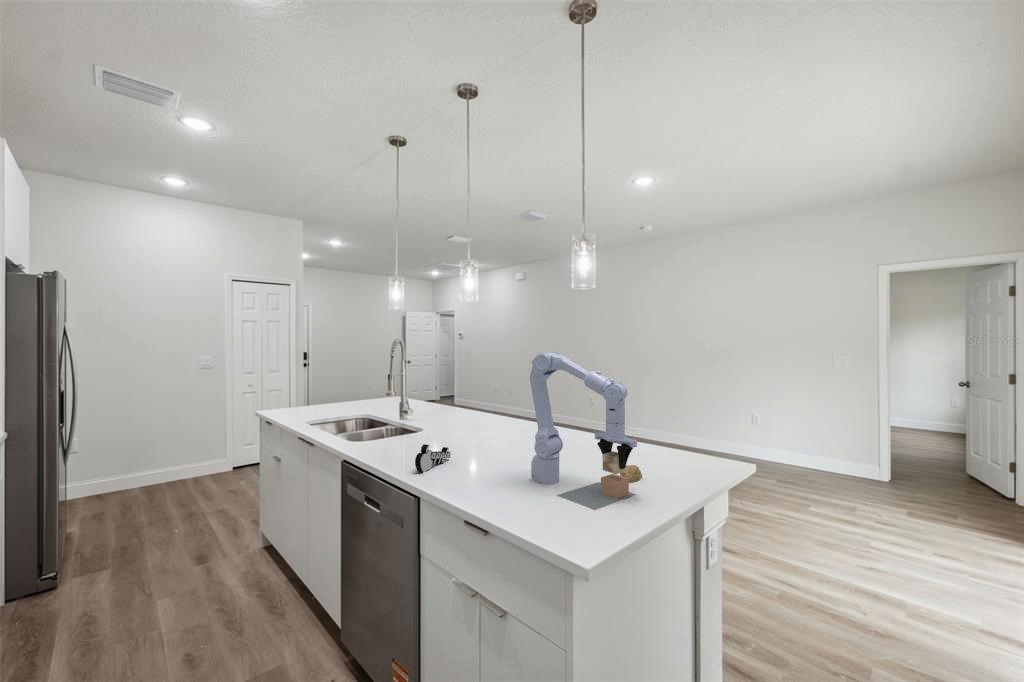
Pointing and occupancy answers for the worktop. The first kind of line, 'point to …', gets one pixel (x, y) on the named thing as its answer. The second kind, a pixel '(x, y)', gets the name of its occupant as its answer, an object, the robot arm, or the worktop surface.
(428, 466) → the logo
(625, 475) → the stone tool
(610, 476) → the terracotta brick
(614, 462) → the maple block
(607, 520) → the worktop surface
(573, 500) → the slate mat
